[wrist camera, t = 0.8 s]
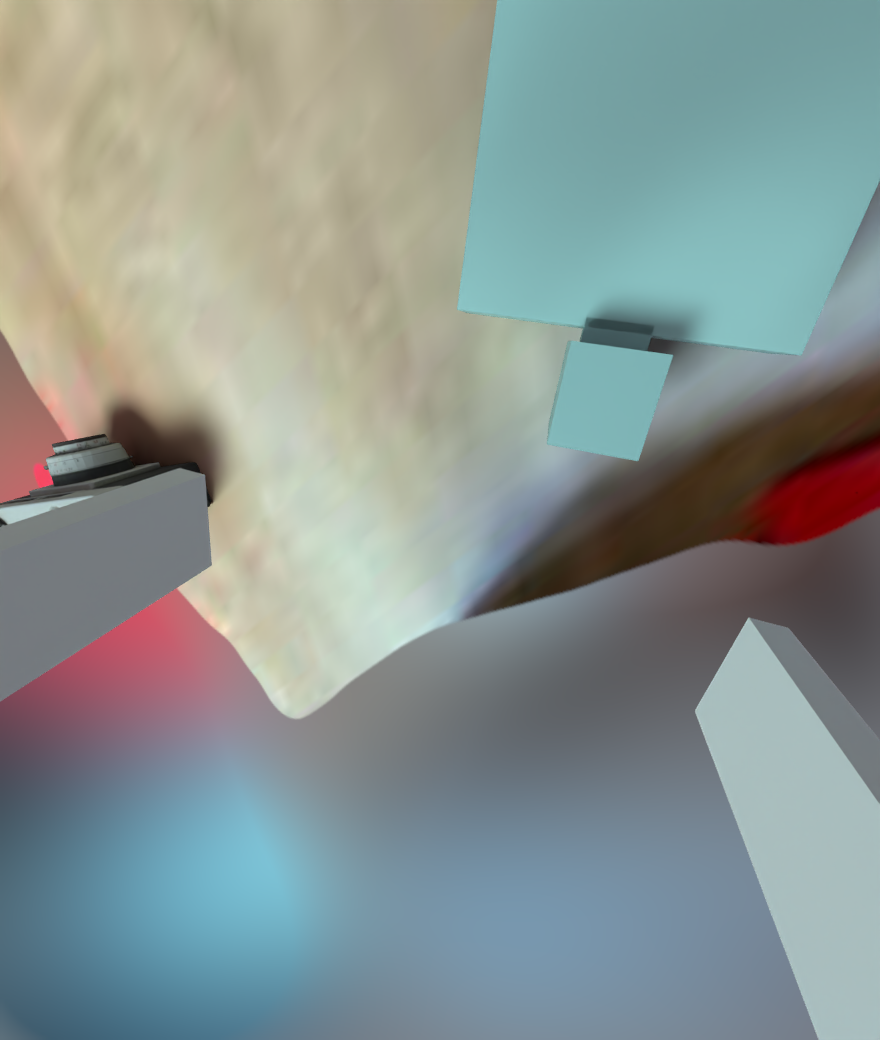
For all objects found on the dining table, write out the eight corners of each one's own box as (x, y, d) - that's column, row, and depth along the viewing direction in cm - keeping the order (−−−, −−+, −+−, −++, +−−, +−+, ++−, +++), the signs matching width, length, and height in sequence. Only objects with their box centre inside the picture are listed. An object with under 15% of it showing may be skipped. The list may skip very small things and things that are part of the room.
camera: (182, 418, 37) (62, 442, 28) (215, 506, 40) (116, 554, 31) (70, 439, 41) (-65, 466, 32) (107, 518, 44) (-8, 563, 35)
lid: (543, -212, 16) (536, -488, 11) (1021, -253, 14) (1326, -645, 8) (456, 406, 26) (429, 422, 20) (726, 453, 23) (777, 486, 18)
